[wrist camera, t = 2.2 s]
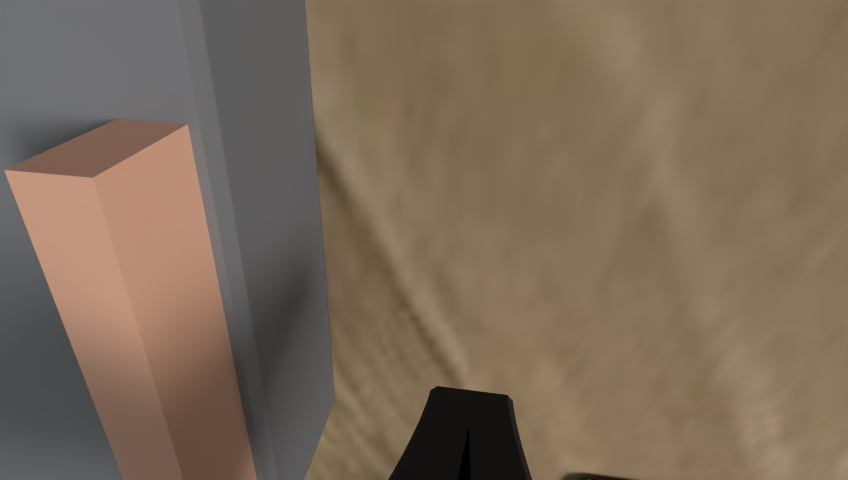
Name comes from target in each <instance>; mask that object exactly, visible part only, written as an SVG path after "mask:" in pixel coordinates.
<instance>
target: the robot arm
mask: <svg viewBox="0 0 848 480" xmlns="http://www.w3.org/2000/svg"><path fill="white" fill-rule="evenodd" d="M389 480H532V478H531V475H530V472H529V469H528V465H527V462H526V458H525V455H524V452H523V448H522V445H521V441H520V437H519V433H518V428H517V424H516V419H515V414H514V408H513V401H512V400H511V399H510V398H509V397H508V395H503V394H495V393H487V392H479V391H471V390H463V389H455V388H447V387H439V386H437V387H435V388H434V389H432V390H431V391H430V394H429V397H428V400H427V403H426V406H425V408H424V411H423V413H422V416H421V418H420V420H419V423H418V425H417V427H416V429H415V431H414V433H413V435H412V437H411V439H410V441H409V443H408V445H407V447H406V449H405V451H404V453H403V455H402V457H401V458H400V460H399V462H398V464H397V466H396V467H395V469H394V471H393V473H392V474H391V476H390V478H389ZM588 480H589V479H588Z"/></svg>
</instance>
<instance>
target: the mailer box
mask: <svg viewBox="0 0 848 480" xmlns="http://www.w3.org/2000/svg"><path fill="white" fill-rule="evenodd" d="M199 4H200V10H201V16H202V22H203V28H204V35H205V41H206V47H207V53H208V59H209V65H210V71H211V77H212V83H213V89H214V95H215V101H216V107H217V113H218V119H219V125H220V132H221V138H222V144H223V150H224V156H225V162H226V168H227V174H228V180H229V186H230V192H231V198H232V204H233V210H234V216H235V222H236V229H237V235H238V241H239V247H240V253H241V259H242V265H243V271H244V277H245V283H246V289H247V295H248V301H249V307H250V313H251V319H252V326H253V332H254V338H255V344H256V350H257V356H258V362H259V368H260V374H261V380H262V386H263V392H264V398H265V404H266V410H267V416H268V423H269V429H270V435H271V441H272V447H273V453H274V459H275V465H276V471H277V477H278V480H304V478H305V476H306V473H307V471H308V468H309V466H310V463H311V460H312V458H313V455H314V453H315V450H316V447H317V445H318V442H319V440H320V437H321V434H322V432H323V429H324V427H325V424H326V422H327V419H328V416H329V414H330V411H331V409H332V406H333V403H334V401H335V397H334V384H333V371H332V357H331V344H330V331H329V318H328V304H327V291H326V278H325V265H324V251H323V238H322V225H321V212H320V198H319V185H318V172H317V158H316V145H315V132H314V119H313V105H312V92H311V79H310V66H309V52H308V39H307V26H306V13H305V0H199Z"/></svg>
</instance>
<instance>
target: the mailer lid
mask: <svg viewBox="0 0 848 480" xmlns="http://www.w3.org/2000/svg"><path fill="white" fill-rule="evenodd" d="M0 480H278V477H277V471H276V465H275V459H274V453H273V447H272V441H271V435H270V429H269V423H268V416H267V410H266V404H265V398H264V392H263V386H262V380H261V374H260V368H259V362H258V356H257V350H256V344H255V338H254V332H253V326H252V319H251V313H250V307H249V301H248V295H247V289H246V283H245V277H244V271H243V265H242V259H241V253H240V247H239V241H238V235H237V229H236V222H235V216H234V210H233V204H232V198H231V192H230V186H229V180H228V174H227V168H226V162H225V156H224V150H223V144H222V138H221V132H220V125H219V119H218V113H217V107H216V101H215V95H214V89H213V83H212V77H211V71H210V65H209V59H208V53H207V47H206V41H205V35H204V28H203V22H202V16H201V10H200V4H199V0H0Z"/></svg>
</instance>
